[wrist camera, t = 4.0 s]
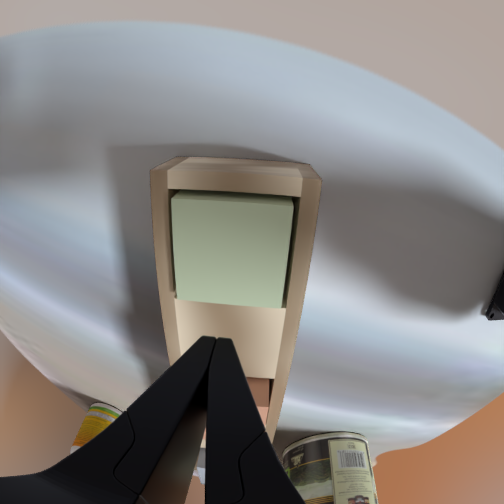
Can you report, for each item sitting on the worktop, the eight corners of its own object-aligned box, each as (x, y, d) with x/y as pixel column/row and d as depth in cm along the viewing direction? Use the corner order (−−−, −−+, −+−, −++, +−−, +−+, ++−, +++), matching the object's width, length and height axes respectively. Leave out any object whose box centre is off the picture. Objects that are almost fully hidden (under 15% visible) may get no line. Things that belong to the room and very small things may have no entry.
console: (309, 164, 15) (322, 180, 12) (264, 446, 28) (263, 476, 25) (176, 156, 16) (149, 170, 12) (199, 440, 28) (194, 469, 25)
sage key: (287, 184, 16) (293, 206, 12) (279, 267, 18) (281, 308, 14) (193, 178, 16) (171, 198, 12) (194, 261, 18) (177, 299, 14)
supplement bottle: (82, 402, 28) (52, 466, 19) (111, 399, 26) (80, 473, 18) (112, 428, 30) (89, 490, 21) (142, 427, 28) (120, 497, 20)
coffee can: (282, 469, 31) (281, 562, 19) (281, 435, 27) (280, 557, 14) (359, 461, 30) (371, 551, 18) (377, 425, 26) (399, 539, 13)
